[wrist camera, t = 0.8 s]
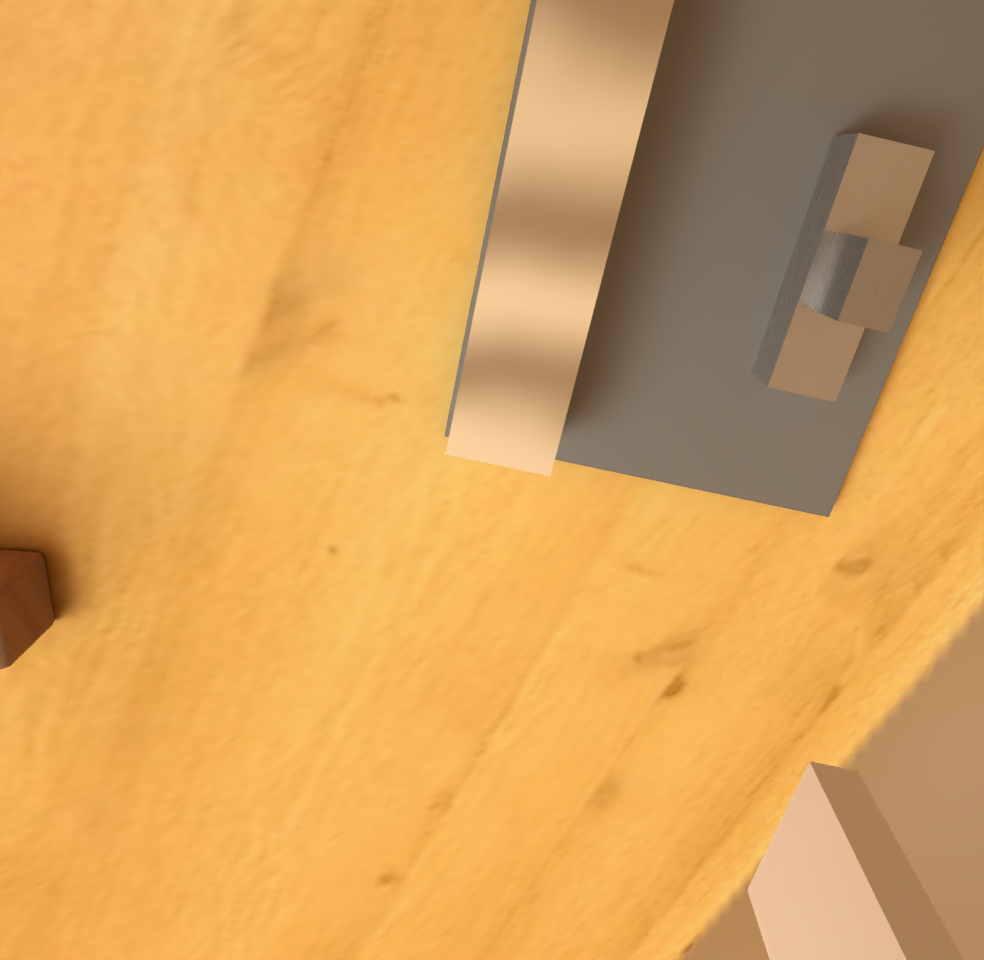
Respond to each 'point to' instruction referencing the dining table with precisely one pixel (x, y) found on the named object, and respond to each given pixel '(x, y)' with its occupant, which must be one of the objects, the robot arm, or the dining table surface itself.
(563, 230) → the beech bar
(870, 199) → the fulcrum ridge
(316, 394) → the dining table surface
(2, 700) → the dining table surface
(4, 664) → the wooden block
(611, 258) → the slate board
